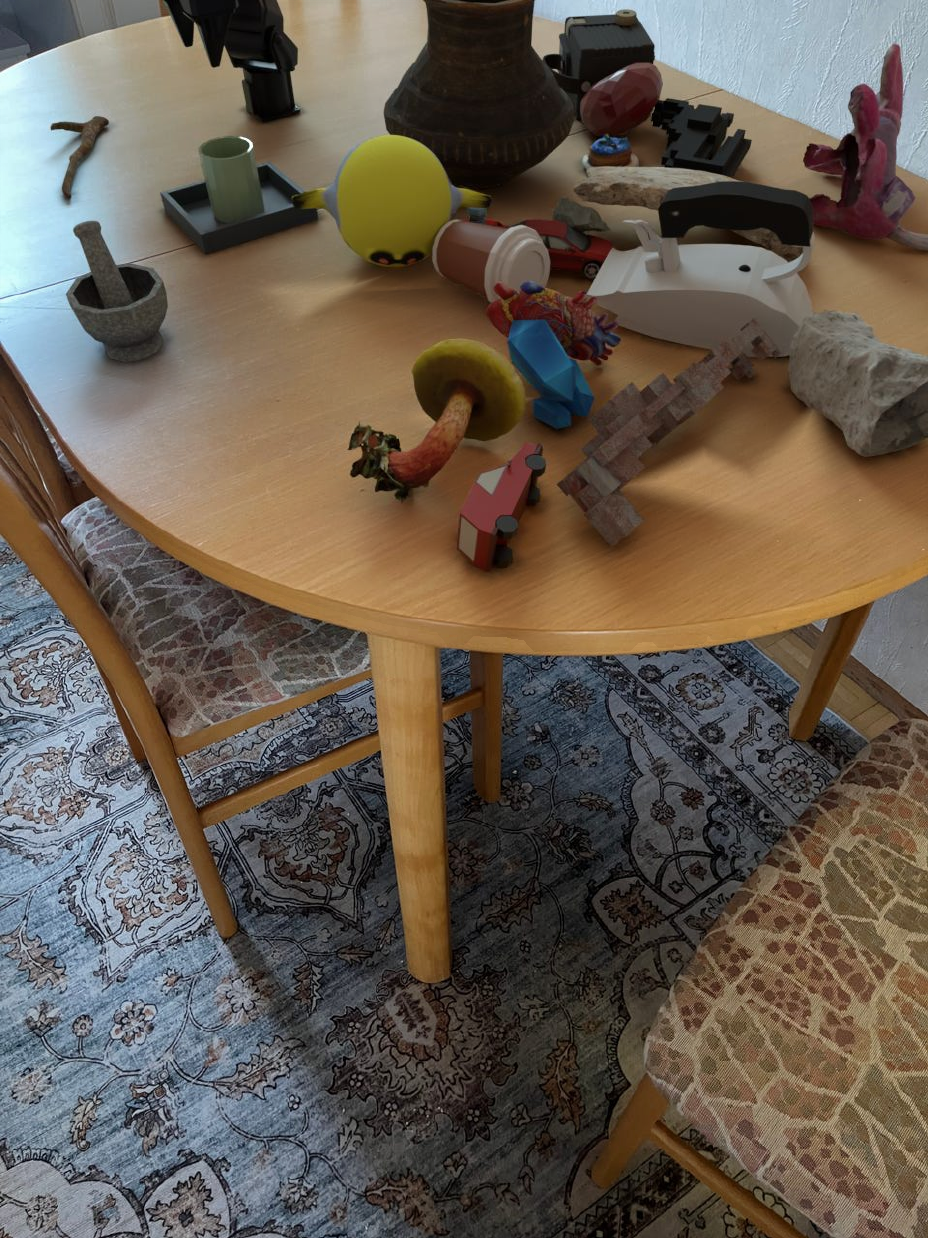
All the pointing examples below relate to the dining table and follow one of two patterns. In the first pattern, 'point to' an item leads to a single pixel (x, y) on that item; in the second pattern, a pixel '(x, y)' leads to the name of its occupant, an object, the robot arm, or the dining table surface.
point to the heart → (621, 100)
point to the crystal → (549, 373)
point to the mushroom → (444, 414)
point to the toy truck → (499, 508)
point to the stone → (578, 216)
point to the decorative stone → (860, 382)
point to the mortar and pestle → (117, 300)
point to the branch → (88, 136)
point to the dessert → (610, 154)
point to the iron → (712, 268)
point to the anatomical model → (556, 319)
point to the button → (479, 216)
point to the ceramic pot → (481, 93)
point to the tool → (699, 137)
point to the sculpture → (650, 429)
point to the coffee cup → (490, 256)
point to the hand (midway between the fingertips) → (202, 56)
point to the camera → (597, 51)
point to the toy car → (569, 246)
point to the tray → (212, 235)
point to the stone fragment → (662, 195)
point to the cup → (231, 178)
